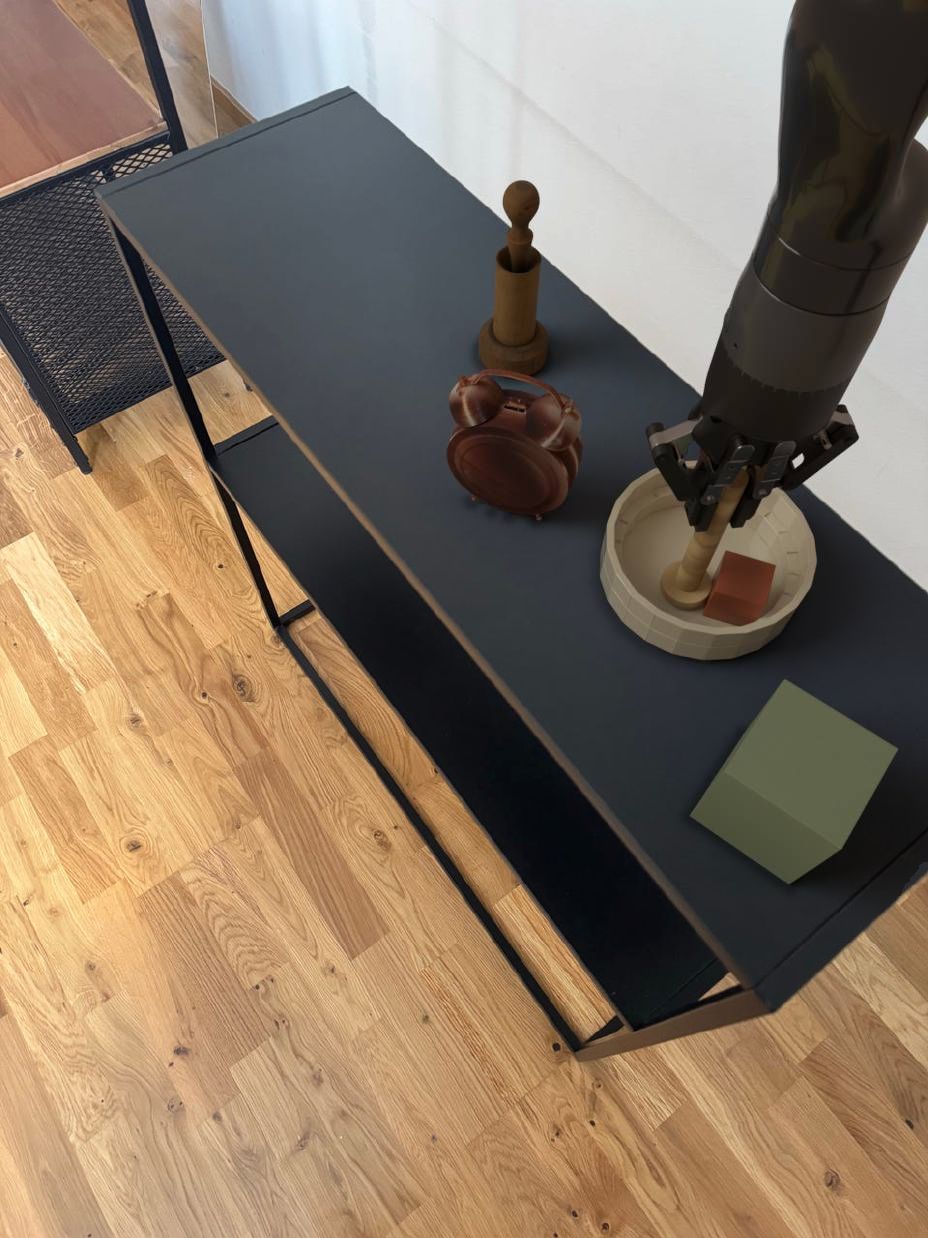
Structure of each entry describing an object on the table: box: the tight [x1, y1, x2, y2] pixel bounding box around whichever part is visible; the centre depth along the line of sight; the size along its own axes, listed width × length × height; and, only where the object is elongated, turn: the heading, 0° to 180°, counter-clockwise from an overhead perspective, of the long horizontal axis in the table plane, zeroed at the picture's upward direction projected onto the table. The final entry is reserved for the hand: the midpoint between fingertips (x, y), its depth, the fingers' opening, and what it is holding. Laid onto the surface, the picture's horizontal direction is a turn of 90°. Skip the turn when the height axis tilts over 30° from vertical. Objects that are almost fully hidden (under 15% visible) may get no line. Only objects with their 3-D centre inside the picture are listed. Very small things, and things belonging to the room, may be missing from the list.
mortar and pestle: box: [478, 179, 549, 376], centre depth 78 cm, size 7×6×18 cm
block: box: [703, 550, 776, 626], centre depth 70 cm, size 4×4×4 cm
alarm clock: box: [445, 368, 584, 521], centre depth 71 cm, size 11×5×15 cm, turn 69°
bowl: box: [599, 460, 818, 661], centre depth 71 cm, size 16×16×5 cm
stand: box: [689, 678, 899, 885], centre depth 60 cm, size 8×8×10 cm
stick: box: [660, 467, 749, 609], centre depth 65 cm, size 4×4×15 cm
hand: (715, 519), depth 63 cm, fingers closed on stick, 2 cm apart
